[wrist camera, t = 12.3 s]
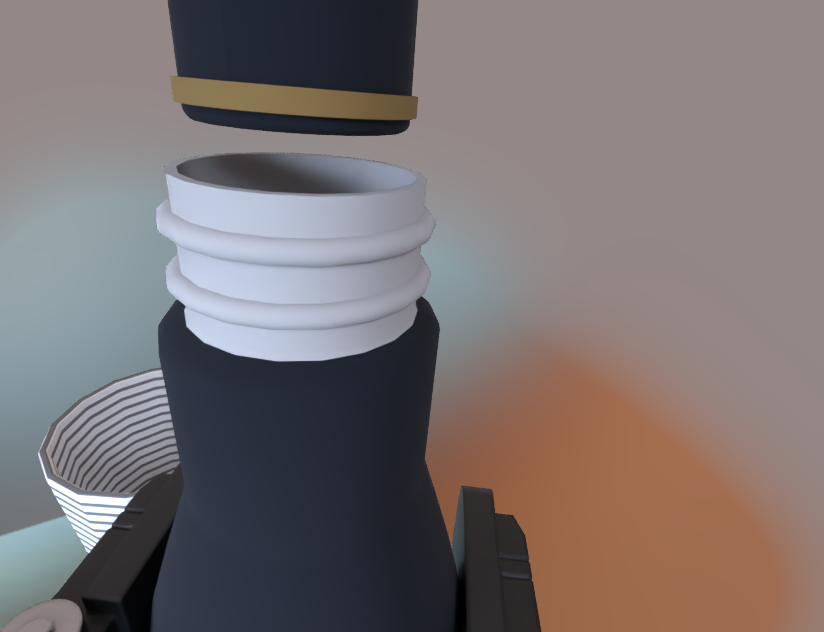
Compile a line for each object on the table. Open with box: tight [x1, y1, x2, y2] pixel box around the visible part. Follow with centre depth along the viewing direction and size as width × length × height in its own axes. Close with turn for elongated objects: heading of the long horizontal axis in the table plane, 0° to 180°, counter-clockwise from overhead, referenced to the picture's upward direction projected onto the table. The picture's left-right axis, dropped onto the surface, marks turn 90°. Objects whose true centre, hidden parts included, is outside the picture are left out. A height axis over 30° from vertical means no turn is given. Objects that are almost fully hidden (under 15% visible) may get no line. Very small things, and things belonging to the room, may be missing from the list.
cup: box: [38, 368, 180, 554], centre depth 23 cm, size 8×8×16 cm
